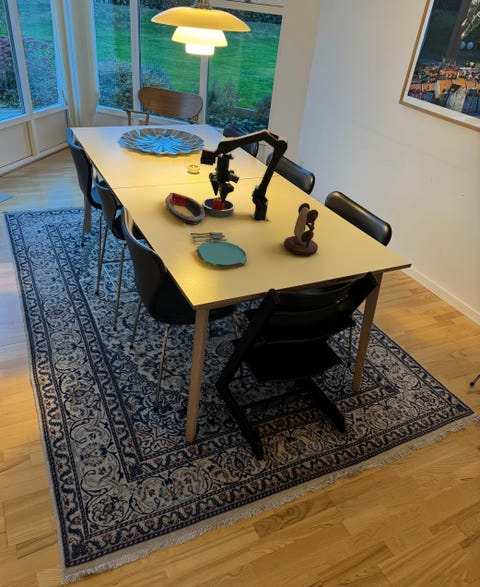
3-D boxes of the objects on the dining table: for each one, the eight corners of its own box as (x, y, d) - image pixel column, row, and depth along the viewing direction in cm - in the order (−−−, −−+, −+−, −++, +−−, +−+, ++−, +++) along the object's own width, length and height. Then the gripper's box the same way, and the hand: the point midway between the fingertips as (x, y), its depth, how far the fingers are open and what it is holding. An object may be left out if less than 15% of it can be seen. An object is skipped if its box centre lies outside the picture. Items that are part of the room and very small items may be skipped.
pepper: (224, 212, 216) (226, 199, 212) (214, 213, 214) (215, 199, 210) (221, 208, 220) (222, 194, 216) (210, 208, 218) (212, 195, 214)
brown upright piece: (277, 242, 198) (285, 200, 187) (305, 240, 203) (315, 198, 193) (293, 258, 187) (303, 214, 176) (323, 255, 193) (334, 212, 182)
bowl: (238, 217, 215) (239, 209, 213) (208, 219, 209) (208, 211, 207) (226, 204, 226) (227, 197, 224) (197, 206, 220) (198, 198, 218)
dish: (179, 228, 197) (180, 218, 194) (158, 201, 219) (158, 191, 216) (211, 226, 203) (212, 215, 200) (188, 199, 225) (188, 190, 223)
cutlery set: (204, 271, 169) (204, 266, 168) (185, 235, 192) (185, 230, 191) (252, 268, 176) (253, 263, 175) (229, 233, 199) (229, 229, 197)
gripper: (246, 174, 202) (242, 206, 210) (231, 160, 216) (227, 191, 224) (223, 174, 197) (220, 207, 206) (209, 160, 211) (206, 192, 220)
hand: (219, 199), depth 214 cm, fingers open, 9 cm apart
